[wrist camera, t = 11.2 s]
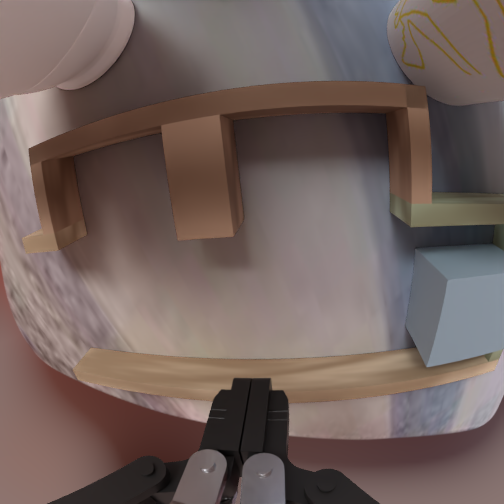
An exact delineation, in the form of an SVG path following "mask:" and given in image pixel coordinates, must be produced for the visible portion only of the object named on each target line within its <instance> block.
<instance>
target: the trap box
mask: <svg viewBox="0 0 504 504" xmlns="http://www.w3.org/2000/svg"><path fill="white" fill-rule="evenodd" d="M315 113H385V114H386V122H387V134H388V149H389V171H390V212H391V213H392V214H394V215H395V216H396V217H398V218H399V219H401V220H402V221H403V222H405V223H406V224H407V225H408V226H410V227H429V226H458V225H493V224H495V229H494V237H493V244H494V245H496V246H497V247H499V248H500V249H502V250H503V251H504V194H491V193H460V192H432V154H431V135H430V122H429V111H428V102H427V94H426V87H425V86H418V85H409V84H398V83H385V82H366V81H311V82H292V83H278V84H267V85H257V86H249V87H241V88H233V89H227V90H220V91H214V92H208V93H203V94H197V95H192V96H187V97H183V98H178V99H173V100H169V101H165V102H161V103H157V104H153V105H149V106H145V107H141V108H138V109H134V110H130V111H127V112H124V113H120V114H117V115H114V116H111V117H108V118H105V119H102V120H99V121H96V122H93V123H90V124H87V125H84V126H82V127H79V128H76V129H74V130H71V131H69V132H66V133H63V134H61V135H59V136H56V137H54V138H51V139H49V140H47V141H44V142H42V143H40V144H38V145H36V146H33V147H31V148H29V158H30V166H31V173H32V180H33V186H34V192H35V198H36V203H37V208H38V213H39V218H40V222H41V226H42V229H40V230H38V231H36V232H34V233H32V234H30V235H28V236H26V237H24V238H22V240H23V244H24V248H25V251H26V254H27V253H37V252H48V251H58V250H60V249H62V248H64V247H66V246H67V245H69V244H71V243H73V242H75V241H76V240H78V239H80V238H82V237H84V236H86V235H87V231H86V226H85V222H84V217H83V212H82V207H81V202H80V197H79V191H78V185H77V179H76V172H75V165H74V158H73V156H76V155H79V154H82V153H85V152H88V151H92V150H95V149H98V148H102V147H105V146H109V145H113V144H116V143H120V142H124V141H128V140H132V139H136V138H140V137H144V136H149V135H153V134H158V133H162V140H163V148H164V156H165V164H166V171H167V178H168V185H169V192H170V198H171V205H172V211H173V217H174V223H175V229H176V234H177V240H178V241H179V240H193V239H207V238H221V237H234V235H235V234H236V232H237V230H238V229H239V227H240V225H241V224H242V222H243V220H244V214H243V205H242V196H241V187H240V178H239V169H238V160H237V151H236V142H235V133H234V124H233V120H241V119H249V118H259V117H269V116H281V115H295V114H315ZM502 350H503V349H502ZM502 350H499V351H495V352H492V353H488V354H484V355H481V356H477V357H473V358H469V359H464V360H460V361H456V362H451V363H447V364H442V365H437V366H432V367H426V365H425V363H424V361H423V359H422V357H421V355H420V353H419V351H418V349H417V347H415V348H408V349H401V350H394V351H386V352H377V353H368V354H358V355H347V356H334V357H318V358H298V359H209V358H188V357H173V356H160V355H149V354H139V353H130V352H121V351H113V350H106V349H98V348H92V347H91V349H90V350H89V351H88V352H87V353H86V354H85V356H84V357H83V358H82V359H81V360H80V362H79V363H78V364H77V365H76V366H75V367H74V369H73V371H74V373H75V375H76V377H77V379H78V380H81V381H85V382H89V383H94V384H98V385H103V386H108V387H112V388H118V389H123V390H128V391H134V392H140V393H146V394H153V395H160V396H167V397H176V398H184V399H194V400H206V401H213V399H214V397H215V396H216V395H217V394H218V393H219V391H220V390H221V389H225V390H231V387H232V382H233V379H234V378H252V379H253V378H271V381H272V390H284V392H285V394H286V396H287V398H288V403H302V402H322V401H336V400H348V399H358V398H366V397H374V396H382V395H389V394H395V393H401V392H407V391H413V390H418V389H423V388H428V387H433V386H438V385H442V384H446V383H451V382H455V381H459V380H462V379H466V378H470V377H473V376H477V375H480V374H484V373H487V372H490V371H494V369H495V367H496V365H497V362H498V360H499V358H500V355H501V353H502Z"/></svg>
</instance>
